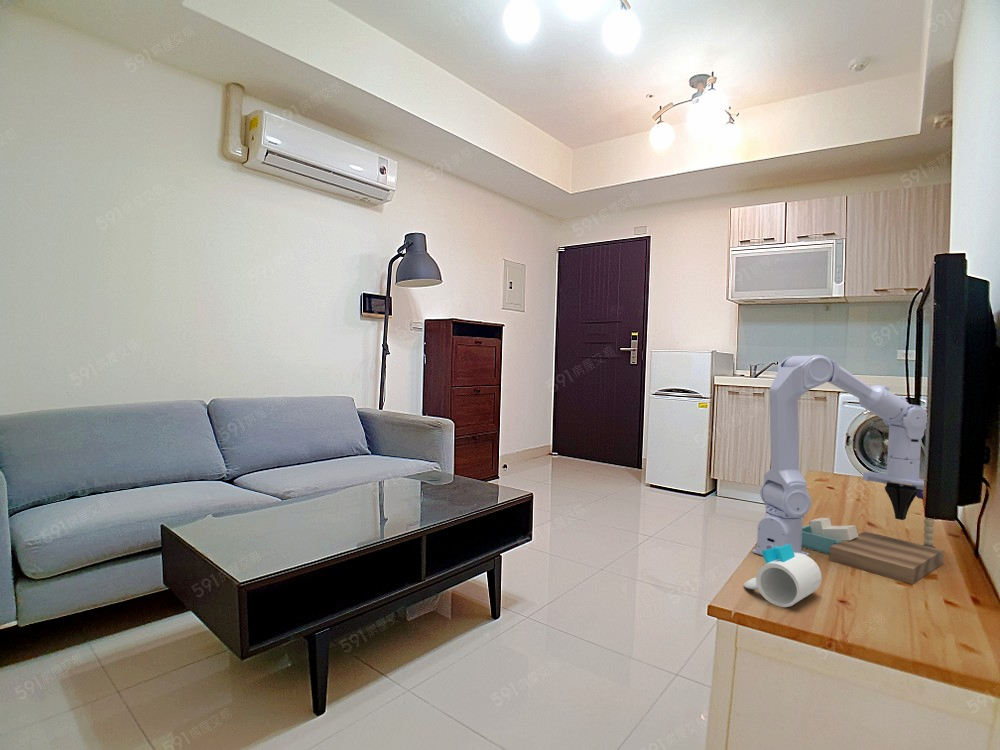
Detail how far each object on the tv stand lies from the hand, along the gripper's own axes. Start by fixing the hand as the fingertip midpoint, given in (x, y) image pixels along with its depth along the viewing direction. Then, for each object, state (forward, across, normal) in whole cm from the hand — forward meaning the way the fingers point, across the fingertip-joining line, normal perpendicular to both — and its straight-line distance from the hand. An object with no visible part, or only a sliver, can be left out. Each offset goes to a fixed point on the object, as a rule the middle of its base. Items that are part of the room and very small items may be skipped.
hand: (900, 518), depth 116 cm
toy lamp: (+9, -3, -8) cm, 12 cm away
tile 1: (+5, +12, +7) cm, 14 cm away
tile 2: (+6, +9, +7) cm, 13 cm away
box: (+8, +12, +7) cm, 16 cm away
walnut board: (+8, 0, +7) cm, 11 cm away
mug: (+9, +6, +43) cm, 45 cm away
